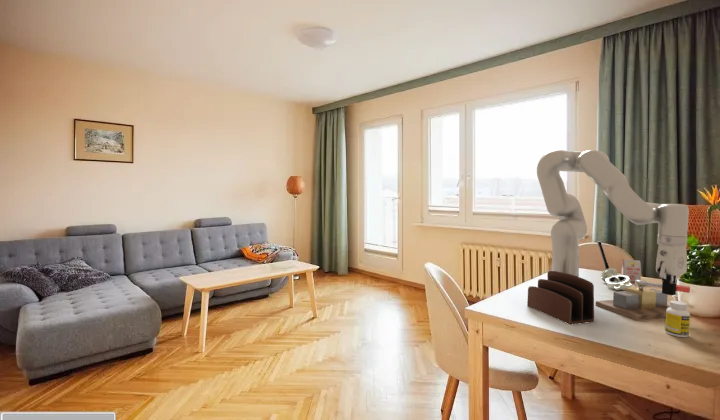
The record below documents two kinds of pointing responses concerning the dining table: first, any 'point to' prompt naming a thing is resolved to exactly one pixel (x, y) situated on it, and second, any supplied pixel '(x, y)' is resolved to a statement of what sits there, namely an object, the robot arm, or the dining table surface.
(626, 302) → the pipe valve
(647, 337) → the dining table surface
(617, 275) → the butterfly valve
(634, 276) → the printed carton box
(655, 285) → the valve lever
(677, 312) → the supplement bottle
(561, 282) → the letter holder
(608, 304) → the board
